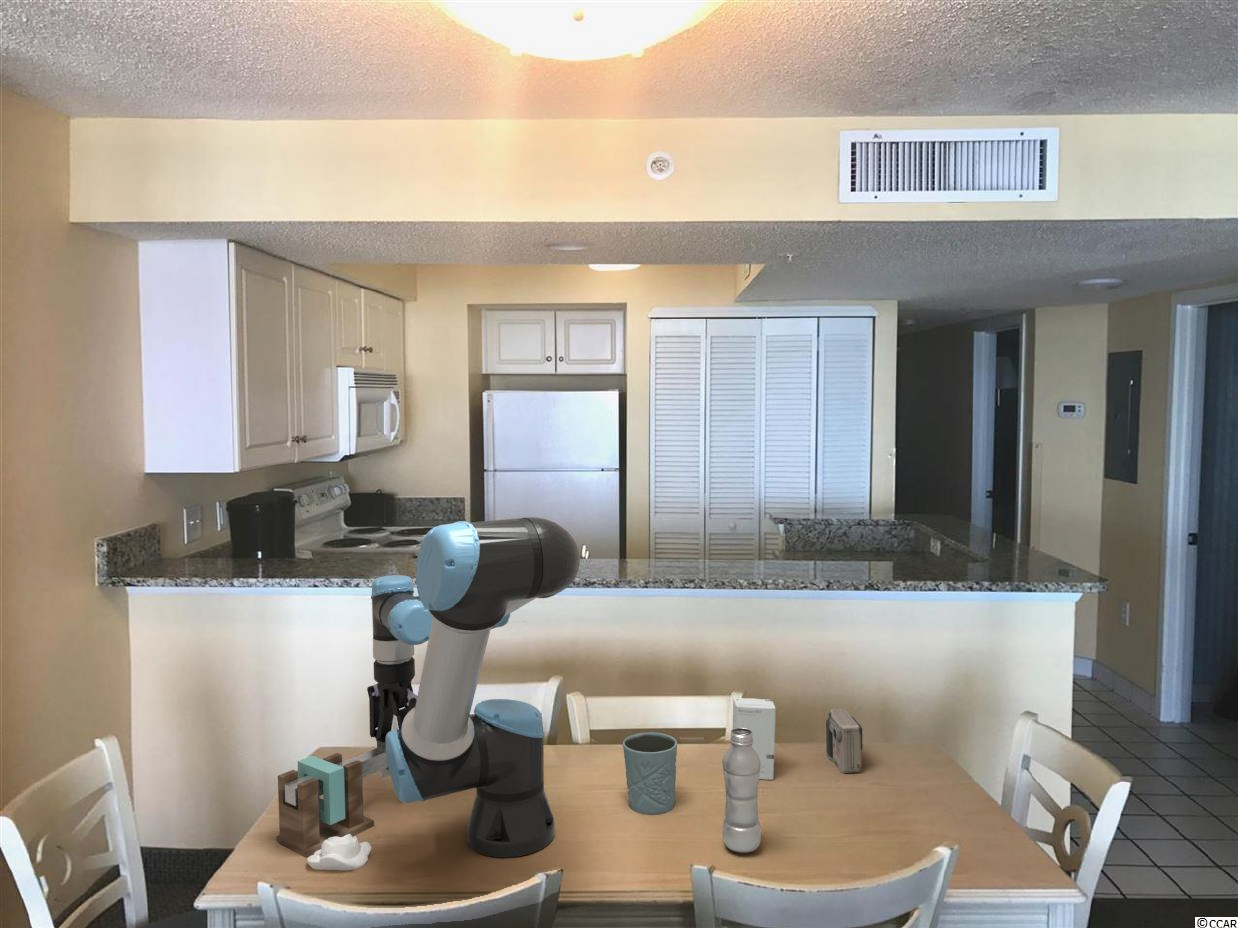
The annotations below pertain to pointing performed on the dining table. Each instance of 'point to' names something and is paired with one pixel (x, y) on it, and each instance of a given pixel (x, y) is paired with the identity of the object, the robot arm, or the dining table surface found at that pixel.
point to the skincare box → (758, 729)
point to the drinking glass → (650, 772)
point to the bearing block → (303, 820)
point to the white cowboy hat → (340, 854)
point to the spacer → (326, 787)
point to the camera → (843, 740)
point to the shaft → (370, 765)
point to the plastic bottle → (741, 793)
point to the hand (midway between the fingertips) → (397, 778)
